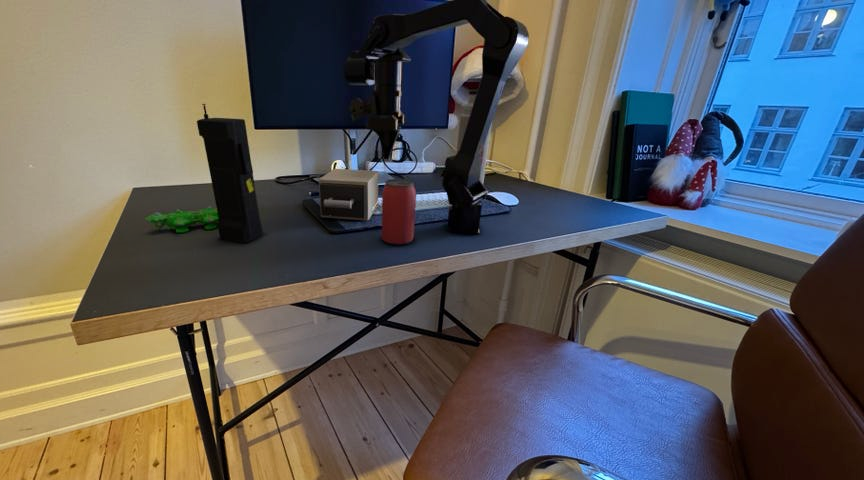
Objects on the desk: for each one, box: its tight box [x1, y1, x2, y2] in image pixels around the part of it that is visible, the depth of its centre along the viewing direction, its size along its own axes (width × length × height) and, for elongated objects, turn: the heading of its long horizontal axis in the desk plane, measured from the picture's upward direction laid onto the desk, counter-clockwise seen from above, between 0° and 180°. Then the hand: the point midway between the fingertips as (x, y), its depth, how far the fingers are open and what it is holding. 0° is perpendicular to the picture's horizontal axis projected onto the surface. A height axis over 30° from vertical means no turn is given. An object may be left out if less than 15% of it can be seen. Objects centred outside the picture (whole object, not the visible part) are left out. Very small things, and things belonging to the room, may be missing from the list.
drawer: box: [319, 183, 365, 218], centre depth 87 cm, size 16×10×7 cm, turn 170°
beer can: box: [381, 178, 417, 246], centre depth 73 cm, size 7×7×12 cm
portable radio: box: [196, 103, 264, 244], centre depth 70 cm, size 8×6×25 cm
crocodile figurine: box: [144, 205, 219, 234], centre depth 79 cm, size 7×18×4 cm, turn 115°
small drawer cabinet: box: [318, 168, 379, 222], centre depth 91 cm, size 13×12×9 cm
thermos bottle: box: [455, 89, 493, 185], centre depth 95 cm, size 8×8×28 cm
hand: (386, 158), depth 87 cm, fingers closed
